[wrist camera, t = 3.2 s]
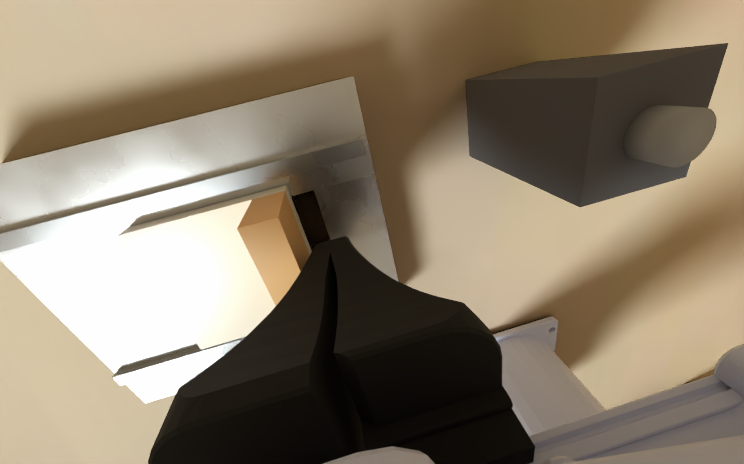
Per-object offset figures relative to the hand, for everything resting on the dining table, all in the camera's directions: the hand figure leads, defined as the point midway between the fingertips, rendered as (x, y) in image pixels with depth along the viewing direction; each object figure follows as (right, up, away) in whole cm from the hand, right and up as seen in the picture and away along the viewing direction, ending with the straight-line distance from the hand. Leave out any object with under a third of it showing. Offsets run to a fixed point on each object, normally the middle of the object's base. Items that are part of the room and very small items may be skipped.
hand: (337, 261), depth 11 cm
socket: (-5, +1, +3) cm, 6 cm away
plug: (+8, +7, +3) cm, 11 cm away
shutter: (-4, 0, +1) cm, 4 cm away
